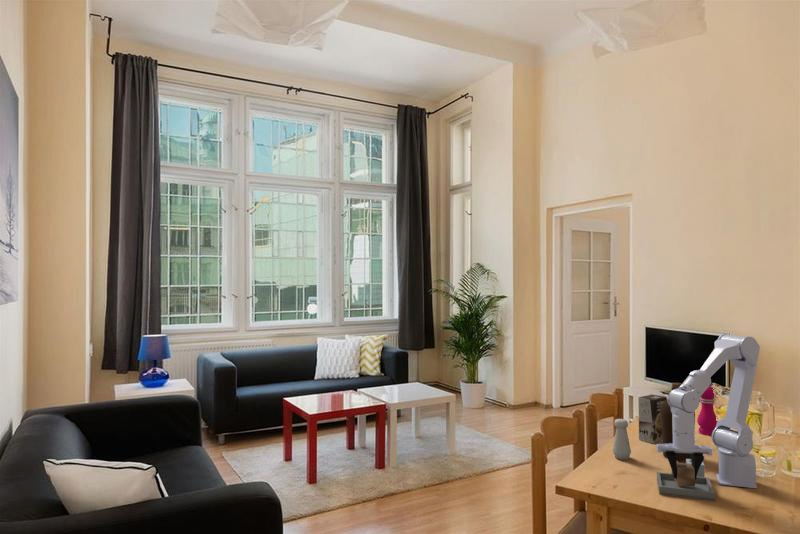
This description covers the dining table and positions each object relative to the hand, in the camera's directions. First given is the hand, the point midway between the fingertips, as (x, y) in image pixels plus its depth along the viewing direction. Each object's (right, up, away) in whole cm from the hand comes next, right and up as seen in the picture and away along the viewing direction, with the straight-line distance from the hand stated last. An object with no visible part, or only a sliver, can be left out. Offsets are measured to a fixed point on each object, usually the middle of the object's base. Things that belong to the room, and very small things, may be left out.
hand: (684, 477), depth 162 cm
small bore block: (0, -2, 0) cm, 2 cm away
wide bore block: (+8, -3, +9) cm, 12 cm away
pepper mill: (+36, -3, +53) cm, 65 cm away
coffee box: (+12, -4, +47) cm, 49 cm away
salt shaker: (-7, -4, +28) cm, 29 cm away
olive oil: (+12, -4, +28) cm, 30 cm away
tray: (0, -3, 0) cm, 3 cm away
